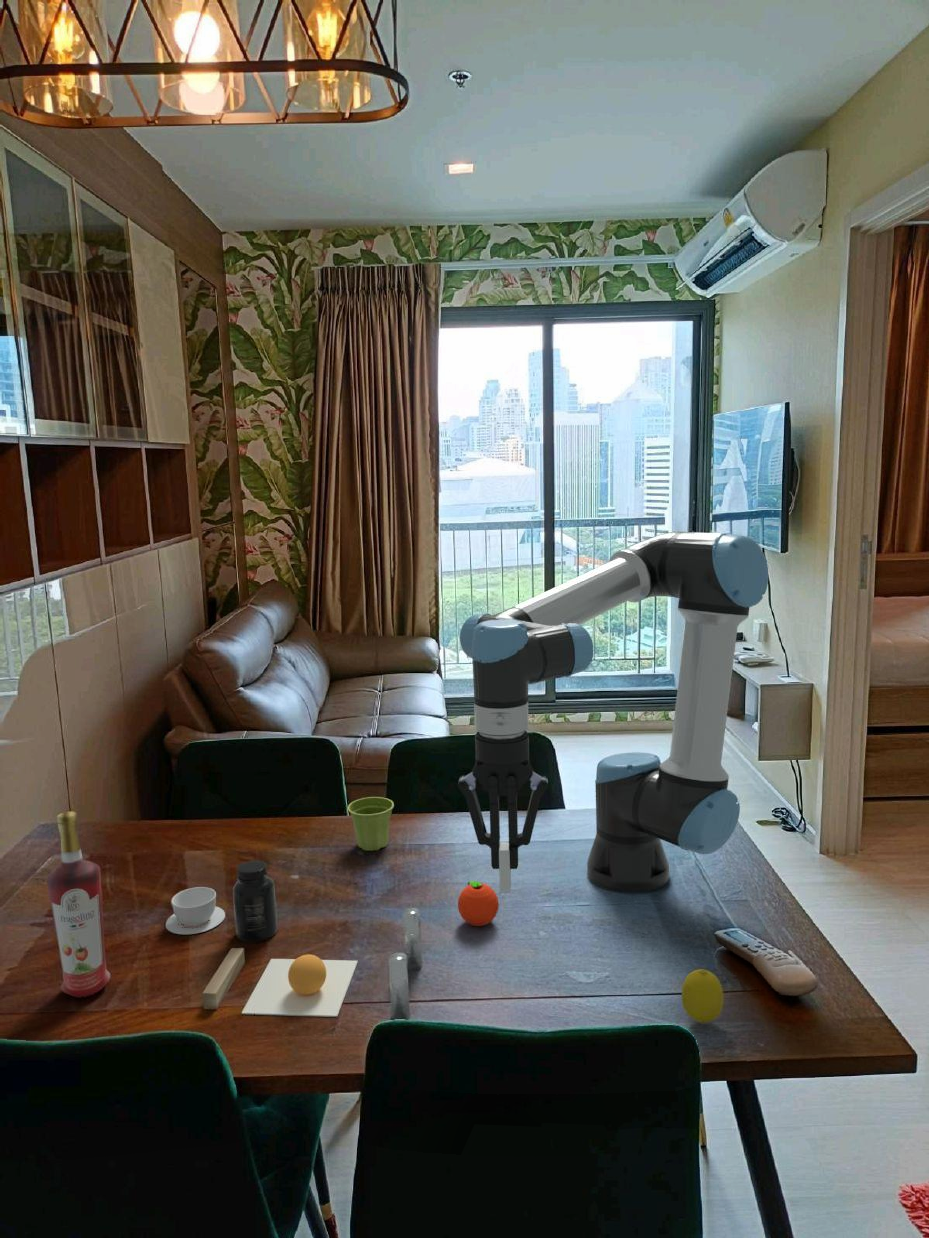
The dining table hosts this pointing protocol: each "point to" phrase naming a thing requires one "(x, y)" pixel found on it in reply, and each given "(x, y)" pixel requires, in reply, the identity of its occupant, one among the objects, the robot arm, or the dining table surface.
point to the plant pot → (371, 821)
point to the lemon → (702, 996)
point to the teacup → (194, 911)
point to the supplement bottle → (254, 903)
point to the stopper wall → (223, 978)
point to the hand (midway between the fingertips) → (505, 888)
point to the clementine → (478, 904)
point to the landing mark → (283, 1000)
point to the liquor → (77, 914)
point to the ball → (307, 974)
